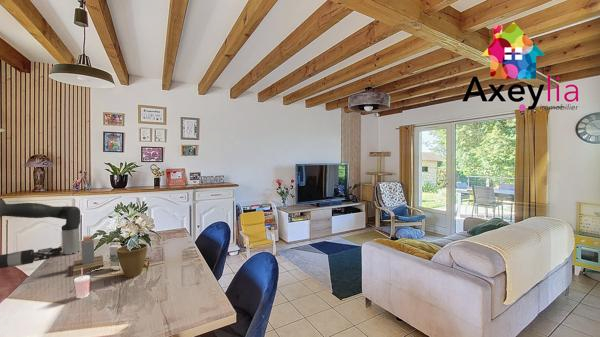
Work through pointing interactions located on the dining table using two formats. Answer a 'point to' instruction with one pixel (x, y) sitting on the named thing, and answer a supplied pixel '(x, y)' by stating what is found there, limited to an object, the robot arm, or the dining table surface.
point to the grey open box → (88, 252)
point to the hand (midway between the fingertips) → (61, 251)
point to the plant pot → (132, 260)
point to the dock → (87, 265)
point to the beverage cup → (82, 285)
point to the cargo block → (87, 239)
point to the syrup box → (114, 255)
